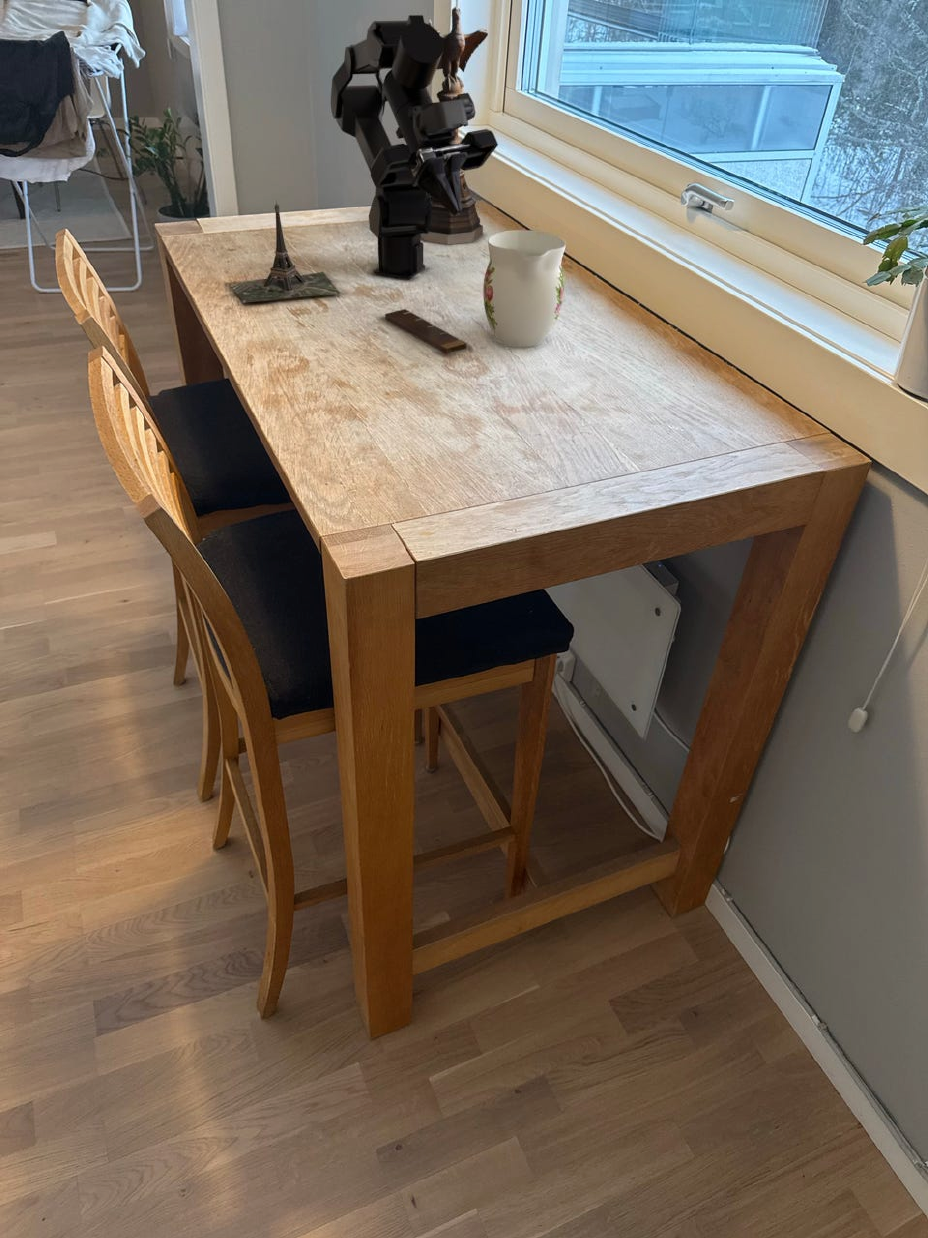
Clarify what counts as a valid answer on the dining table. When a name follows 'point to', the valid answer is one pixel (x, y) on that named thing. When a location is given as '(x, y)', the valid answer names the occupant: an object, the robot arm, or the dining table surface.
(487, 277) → the pitcher
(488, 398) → the dining table surface
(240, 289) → the eiffel tower figurine
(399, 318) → the ruler
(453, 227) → the bird statue
